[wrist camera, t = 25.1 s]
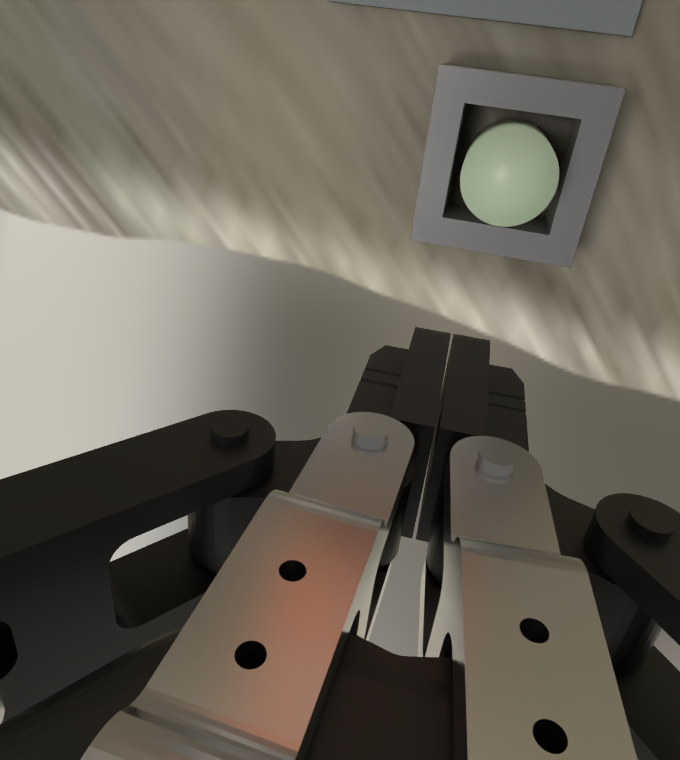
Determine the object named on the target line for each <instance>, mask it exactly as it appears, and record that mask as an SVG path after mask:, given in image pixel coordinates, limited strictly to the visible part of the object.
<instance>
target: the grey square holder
mask: <svg viewBox="0 0 680 760" xmlns="http://www.w3.org/2000/svg"><path fill="white" fill-rule="evenodd" d="M625 90H626V88H622V87H618V86H615V85H607V84H600V83H592V82H584V81H576V80H569V79H561V78H553V77H545V76H538V75H530V74H522V73H515V72H507V71H499V70H491V69H484V68H476V67H468V66H460V65H453V64H439V70H438V76H437V82H436V88H435V94H434V100H433V105H432V111H431V117H430V123H429V129H428V135H427V141H426V147H425V153H424V159H423V165H422V171H421V177H420V183H419V188H418V194H417V200H416V206H415V212H414V218H413V224H412V230H411V236H410V240H412V241H418V242H423V243H429V244H435V245H441V246H446V247H452V248H458V249H464V250H469V251H475V252H481V253H487V254H492V255H498V256H504V257H510V258H516V259H521V260H527V261H533V262H539V263H544V264H550V265H556V266H562V267H567V268H571V264H572V261H573V258H574V255H575V251H576V248H577V245H578V242H579V239H580V235H581V232H582V229H583V226H584V222H585V219H586V216H587V213H588V209H589V206H590V203H591V200H592V197H593V193H594V190H595V187H596V184H597V180H598V177H599V174H600V171H601V167H602V164H603V161H604V158H605V155H606V151H607V148H608V145H609V142H610V138H611V135H612V132H613V129H614V125H615V122H616V119H617V116H618V113H619V109H620V106H621V103H622V100H623V96H624V93H625ZM466 103H468V104H475V105H482V106H490V107H497V108H504V109H511V110H518V111H526V112H533V113H540V114H547V115H555V116H562V117H569V118H574V119H573V122H572V126H571V130H570V133H569V137H568V140H567V144H566V148H565V151H564V155H563V158H562V162H561V166H560V169H559V181H558V186H557V189H556V192H555V194H554V196H553V198H552V200H551V202H550V205H549V209H548V213H547V216H546V220H539V219H531V220H530V221H528V222H525V223H523V224H520V225H516V226H510V227H501V226H495V225H491V224H488V223H486V222H484V221H482V220H480V219H479V218H477V217H476V216H475V215H474V214H473V213H472V212H471V211H470V210H469V208H466V207H460V206H453V205H447V201H448V196H449V191H450V186H451V181H452V176H453V170H454V165H455V160H456V155H457V150H458V145H459V139H460V134H461V129H462V124H463V119H464V114H465V108H466Z"/></svg>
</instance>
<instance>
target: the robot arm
mask: <svg viewBox="0 0 680 760" xmlns="http://www.w3.org/2000/svg"><path fill="white" fill-rule="evenodd" d="M449 341H450V333H445V332H440V331H434V330H429V329H423V328H418V327H416V328H415V330H414V334H413V337H412V341H411V344H410V347H409V350H408V349H402V348H397V347H392V346H386V345H385V346H384V347H382V348H381V349H379V350H377V351H376V352H374V353H373V354H371V355H370V358H369V360H368V363H367V365H366V368H365V370H364V372H363V375H362V377H361V381H360V382H359V385H358V387H357V390H356V392H355V395H354V397H353V399H352V402H351V404H350V407H349V409H348V412H347V414H345V415H342V416H340V417H338V418H336V419H335V420H333V421H332V422H331V423H330V425H329V426H328V428H327V429H326V431H325V433H324V434H323V436H322V437H321V438H317V439H313V440H306V441H275V438H276V434H275V430H274V428H273V427H272V426H271V424H270V423H269V422H268V421H267V420H265V419H264V418H262V417H260V416H258V415H256V414H253V413H250V412H246V411H239V410H221V411H215V412H211V413H207V414H204V415H201V416H198V417H195V418H191V419H188V420H185V421H182V422H179V423H176V424H173V425H169V426H167V427H164V428H160V429H157V430H154V431H151V432H148V433H144V434H141V435H139V436H135V437H132V438H129V439H126V440H123V441H120V442H116V443H113V444H110V445H107V446H104V447H101V448H98V449H94V450H92V451H88V452H85V453H82V454H79V455H76V456H73V457H70V458H66V459H63V460H60V461H57V462H54V463H51V464H48V465H44V466H41V467H38V468H35V469H32V470H29V471H26V472H23V473H19V474H16V475H13V476H10V477H7V478H4V479H1V480H0V760H680V672H679V671H678V670H677V668H675V667H674V665H673V664H672V663H670V661H669V660H668V659H667V658H666V657H665V656H664V655H663V654H662V653H661V652H659V650H658V649H657V648H656V647H655V646H654V643H655V641H656V640H657V637H658V636H659V634H660V632H661V630H662V629H663V630H664V631H666V632H667V634H669V636H671V637H672V638H673V639H674V640H675V641H676V642H677V643H678V644H679V645H680V513H678V512H677V511H675V510H674V509H672V508H670V507H669V506H667V505H665V504H663V503H661V502H658V501H656V500H653V499H651V498H648V497H644V496H641V495H635V494H626V493H621V494H613V495H609V496H606V497H604V498H603V499H602V500H600V501H599V503H598V504H597V506H596V509H593V508H590V507H588V506H585V505H583V504H581V503H578V502H576V501H574V500H571V499H569V498H567V497H565V496H563V495H561V494H560V493H558V492H556V491H554V490H553V489H552V488H550V487H549V486H547V485H546V484H545V482H544V477H543V473H542V469H541V466H540V464H539V463H538V461H537V460H536V459H535V458H534V456H533V455H531V454H530V453H529V448H528V434H527V420H526V414H525V411H526V408H525V401H524V400H525V394H524V383H523V382H522V381H521V379H520V378H519V377H518V376H517V375H516V373H515V372H514V371H513V369H510V368H505V367H500V366H494V365H489V358H490V341H489V340H485V339H479V338H473V337H468V336H463V335H457V334H454V335H453V339H452V344H451V349H450V354H449V358H448V363H447V368H446V373H445V377H444V371H445V365H446V358H447V353H448V347H449ZM443 377H444V383H443ZM442 383H443V387H442ZM441 390H442V392H441ZM440 396H441V397H440ZM430 450H431V451H430ZM429 455H430V457H429ZM428 460H429V464H428ZM427 465H428V469H427ZM426 469H427V475H426V481H425V488H424V493H423V499H422V505H421V512H420V518H419V523H418V529H417V536H416V539H417V540H422V541H426V542H428V549H427V556H426V560H425V564H424V568H423V573H422V578H421V592H420V593H421V595H420V616H419V637H418V638H419V639H418V657H408V656H399V655H396V654H393V653H390V652H389V651H386V650H384V649H383V648H381V647H379V646H377V645H375V644H373V643H371V642H369V638H370V635H371V631H372V628H373V625H374V622H375V618H376V615H377V612H378V609H379V605H380V602H381V599H382V596H383V592H384V590H385V586H386V583H387V580H388V577H389V573H390V568H391V563H392V560H393V559H394V557H395V556H396V554H397V552H398V549H399V544H400V538H401V536H404V537H408V538H412V536H413V531H414V526H415V522H416V517H417V512H418V507H419V503H420V498H421V493H422V488H423V484H424V479H425V474H426ZM186 515H188V529H185V530H183V531H181V532H179V533H176V534H174V535H172V536H169V537H167V538H165V539H162V540H160V541H158V542H155V543H153V544H151V545H148V546H146V547H144V548H142V549H139V550H137V551H135V552H132V553H130V554H128V555H125V556H123V557H121V558H119V559H116V560H114V561H111V562H110V559H111V557H112V555H113V554H114V552H115V551H116V550H117V549H118V548H119V547H120V546H121V545H122V544H123V543H125V542H126V541H128V540H129V539H132V538H134V537H136V536H138V535H141V534H143V533H145V532H148V531H150V530H153V529H155V528H157V527H160V526H162V525H165V524H167V523H169V522H172V521H174V520H176V519H179V518H181V517H184V516H186ZM182 627H183V628H182Z"/></svg>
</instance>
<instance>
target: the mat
mask: <svg viewBox="0 0 680 760" xmlns="http://www.w3.org/2000/svg"><path fill="white" fill-rule="evenodd" d="M327 1H330V2H339V3H347V4H356V5H364V6H373V7H381V8H390V9H399V10H407V11H416V12H424V13H433V14H441V15H450V16H458V17H467V18H475V19H484V20H492V21H501V22H509V23H518V24H526V25H535V26H543V27H552V28H560V29H569V30H577V31H586V32H594V33H603V34H612V35H620V36H629V37H630V36H632V34H633V30H634V27H635V24H636V20H637V17H638V14H639V10H640V7H641V4H642V1H643V0H327Z"/></svg>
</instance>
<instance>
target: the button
mask: <svg viewBox="0 0 680 760" xmlns="http://www.w3.org/2000/svg"><path fill="white" fill-rule="evenodd" d="M558 181H559V164H558V160H557V157H556V154H555V152H554V150H553V148H552V146H551V145H550V143H549V141H548V139H547V137H546V136H545V134H544V133H543V132H542V131H541V130H540V129H539V128H538V127H537V126H535V125H534V124H532V123H530V122H528V121H525V120H521V119H504V120H500V121H497V122H494V123H492V124H490V125H489V126H487V127H486V128H484V129H483V130H482V131H481V132H479V134H478V135H477V136H476V137H475V138H474V140H473V141H472V143H471V144H470V146H469V149H468V151H467V154H466V157H465V160H464V162H463V165H462V169H461V174H460V188H461V193H462V197H463V199H464V202H465V204H466V205H467V207H468V208H469V210H470V211H471V212H472V213H473V214H474V215H475V216H476V217H477V218H479V219H480V220H482V221H484V222H486V223H488V224H491V225H495V226H501V227H510V226H516V225H520V224H523V223H525V222H528V221H530V220H531V219H533V218H535V217H536V216H537V215H539V214H540V213H541V212H542V211H543V210H544V209H545V208H546V207H547V206H548V204H549V203H550V201H551V200H552V198H553V196H554V194H555V192H556V189H557V186H558Z"/></svg>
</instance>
